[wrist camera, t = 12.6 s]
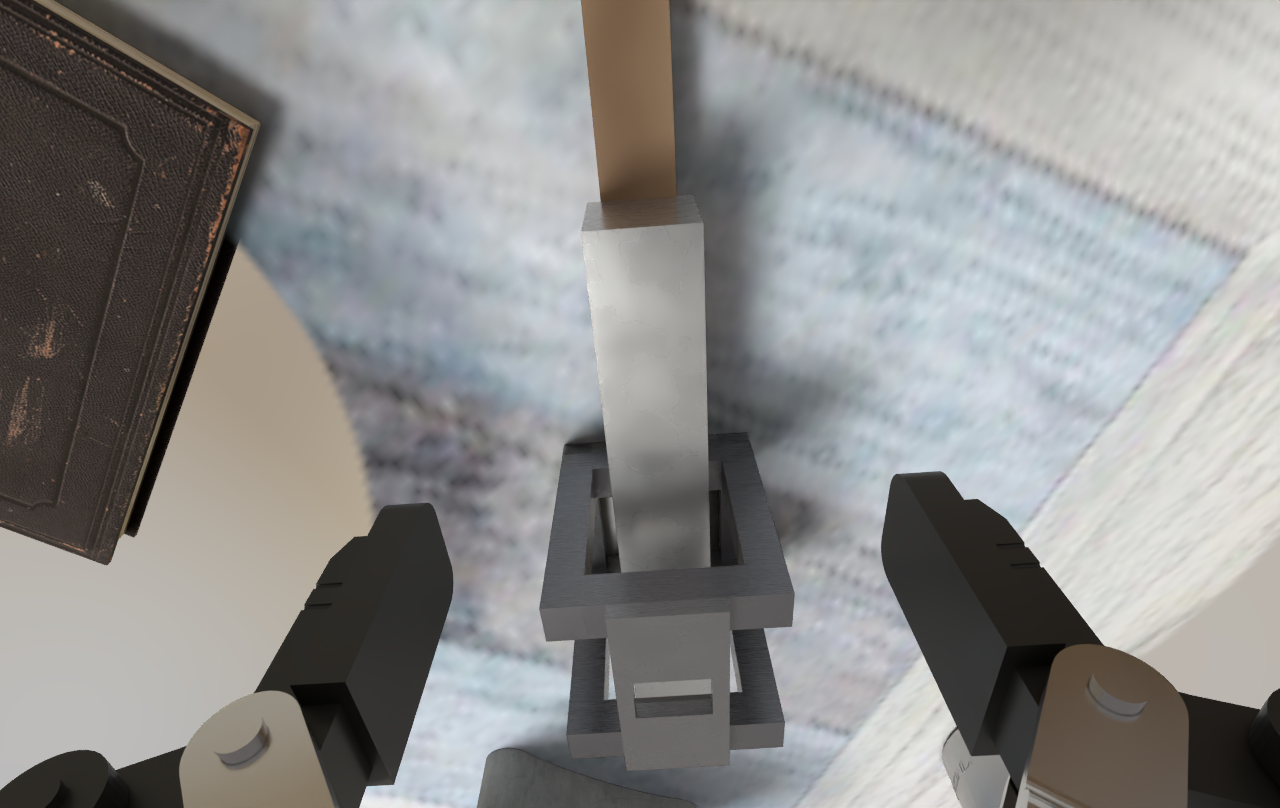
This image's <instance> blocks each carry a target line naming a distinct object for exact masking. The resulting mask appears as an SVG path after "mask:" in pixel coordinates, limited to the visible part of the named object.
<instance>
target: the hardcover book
mask: <svg viewBox="0 0 1280 808" xmlns="http://www.w3.org/2000/svg"><path fill="white" fill-rule="evenodd" d="M260 125H261V123H260V122H258V121H257V120H255V119H253V118H252V117H250V116H248V115H247V114H245V113H243V112H242V111H240V110H238V109H236V108H235V107H233V106H231V105H230V104H228V103H226V102H225V101H223V100H221V99H220V98H218V97H216V96H214V95H213V94H211V93H209V92H208V91H206V90H204V89H203V88H201V87H199V86H198V85H196V84H194V83H192V82H191V81H189V80H187V79H186V78H184V77H182V76H181V75H179V74H177V73H176V72H174V71H172V70H171V69H169V68H167V67H165V66H164V65H162V64H160V63H159V62H157V61H155V60H154V59H152V58H150V57H149V56H147V55H145V54H143V53H142V52H140V51H138V50H137V49H135V48H133V47H132V46H130V45H128V44H127V43H125V42H123V41H121V40H120V39H118V38H116V37H115V36H113V35H111V34H110V33H108V32H106V31H105V30H103V29H101V28H100V27H98V26H96V25H94V24H93V23H91V22H89V21H88V20H86V19H84V18H83V17H81V16H79V15H78V14H76V13H74V12H72V11H71V10H69V9H67V8H66V7H64V6H62V5H61V4H59V3H57V2H56V1H54V0H0V527H3V528H5V529H8V530H11V531H13V532H17V533H19V534H22V535H24V536H27V537H30V538H33V539H35V540H38V541H41V542H44V543H46V544H49V545H52V546H55V547H57V548H60V549H63V550H65V551H68V552H71V553H74V554H77V555H79V556H82V557H85V558H87V559H90V560H93V561H96V562H98V563H101V564H104V565H108V564H109V563H110V562H111V560H112V557H113V554H114V551H115V548H116V545H117V541H118V539H119V538H120V537H121V536H122V535H123V534H126V535H128V536H131V537H135V536H136V535H137V533H138V530H139V527H140V524H141V521H142V519H143V516H144V513H145V510H146V507H147V504H148V501H149V499H150V496H151V493H152V490H153V487H154V484H155V481H156V478H157V476H158V473H159V470H160V467H161V464H162V461H163V458H164V455H165V453H166V449H167V447H168V444H169V441H170V438H171V435H172V432H173V429H174V427H175V424H176V421H177V418H178V415H179V412H180V409H181V407H182V404H183V401H184V398H185V395H186V392H187V389H188V387H189V384H190V381H191V378H192V375H193V372H194V369H195V366H196V364H197V360H198V358H199V355H200V352H201V349H202V346H203V343H204V341H205V337H206V334H207V332H208V329H209V326H210V323H211V320H212V318H213V315H214V312H215V309H216V306H217V303H218V300H219V297H220V295H221V292H222V289H223V286H224V283H225V280H226V277H227V275H228V272H229V269H230V266H231V263H232V260H233V257H234V254H235V252H236V249H237V246H238V244H237V243H236V242H235V240H234V239H233V238H232V237H231V236H230V234H229V233H228V232H227V231H226V227H227V224H228V221H229V218H230V215H231V212H232V209H233V206H234V203H235V200H236V197H237V194H238V191H239V188H240V185H241V182H242V179H243V176H244V173H245V170H246V167H247V164H248V161H249V158H250V155H251V152H252V149H253V146H254V143H255V140H256V137H257V134H258V131H259V128H260Z"/></svg>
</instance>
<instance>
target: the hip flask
mask: <svg viewBox="0 0 1280 808" xmlns="http://www.w3.org/2000/svg"><path fill="white" fill-rule="evenodd" d="M477 808H696V807H695V806H694V805H693V804H692V803H690V802H688V801H686V800H681V799H675V798H668V797H663V796H658V795H653V794H648V793H644V792H639V791H635V790H631V789H627V788H623V787H620V786H616V785H613V784H609V783H606V782H603V781H599V780H596V779H593V778H589V777H586V776H583V775H580V774H577V773H574V772H572V771H569V770H566V769H564V768H561V767H558V766H556V765H553V764H551V763H548V762H546V761H544V760H541V759H539V758H537V757H535V756H533V755H530V754H528V753H526V752H524V751H521V750H518V749H512V748H506V749H499V750H496V751H494V752H492V753H491V754H489V755H488V757H487V759H486V763H485V768H484V774H483V779H482V784H481V789H480V794H479V800H478V805H477Z"/></svg>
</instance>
